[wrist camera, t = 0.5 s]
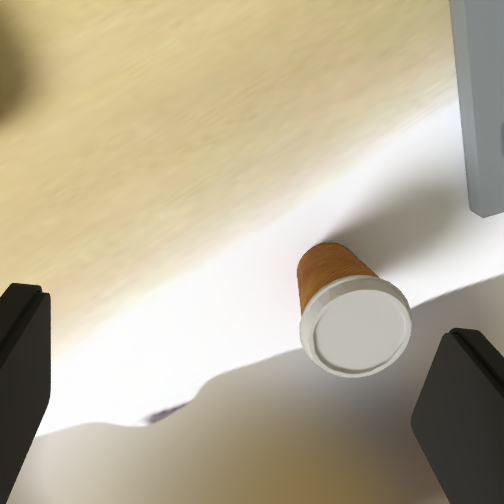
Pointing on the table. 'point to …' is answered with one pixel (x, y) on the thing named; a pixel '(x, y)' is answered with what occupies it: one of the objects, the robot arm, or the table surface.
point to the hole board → (481, 98)
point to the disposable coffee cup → (349, 313)
